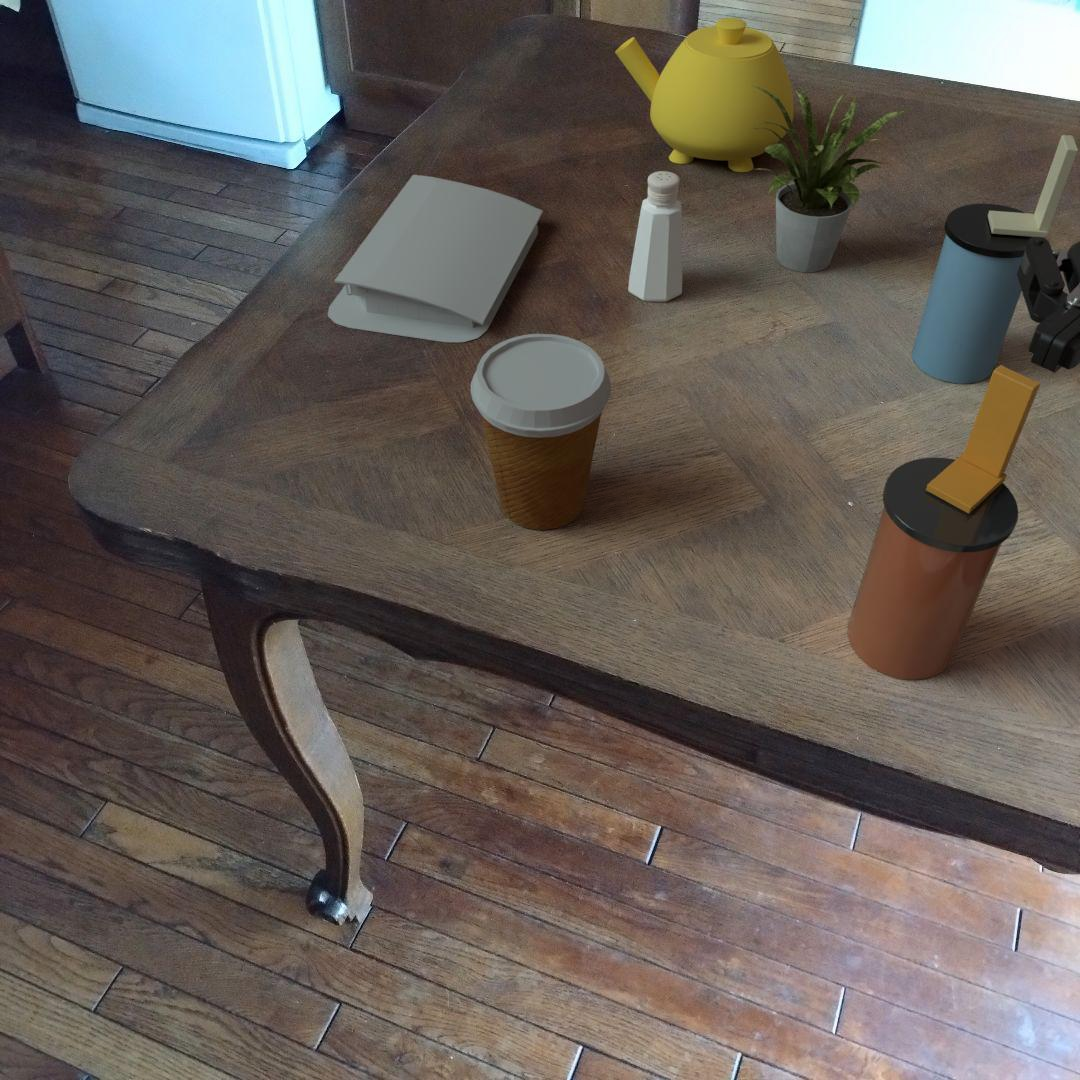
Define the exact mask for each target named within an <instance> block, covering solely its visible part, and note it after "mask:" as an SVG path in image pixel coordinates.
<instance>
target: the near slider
mask: <svg viewBox="0 0 1080 1080" xmlns="http://www.w3.org/2000/svg"><path fill="white" fill-rule="evenodd" d="M990 376H991V377H990V380H989V381H988V382H989V383H988V385H987V387H986V390H985V393H984V396H983V398H982V401H981V403H980V407H979V410H978V413H977V415H976V418H975V421H974V424H973V425H972V426H973V427H972V429H971V432H970V435H969V438H968V439H967V442H966V445H965V448H964V451H963V453H962V454H961V455H959V457H957V458H956V459H955V461H954V462H953V463H952V464H950V465H949V466H948V467H947V468H946V469H945V470H944V471H942V472H941V473H940V474H939V475H938V476H937V477H936V478H934V479H933V480H932V481H931V482H930V483H929V484H928V485H927V488H926V491H928V492H930V493H932V494H934V495H936V496H937V497H939V498H941V499H943V500H945V501H946V502H948V503H950V504H952V505H954V506H955V507H957V508H959V509H961V510H963V511H965V512H966V513H968V514H969V513H970V512H972V511H973V510H974V509H975V508H976V507H977V506H978V505H979V504H980V503H981V502H982V501H983V500H984V499H986V498H987V497H988V496H989V495H990V494H991V493H992V492H993V491H994V490H995V489H996V488H997V487H998V486H1000V485H1001V484H1002V483H1004V482H1005V481H1006V478H1007V473H1005V472H1006V470H1007V468H1008V465H1009V462H1010V460H1011V458H1012V455H1013V453H1014V450H1015V448H1016V445H1017V443H1018V441H1019V438H1020V436H1021V433H1022V431H1023V428H1024V425H1025V423H1026V421H1027V418H1028V416H1029V413H1030V411H1031V409H1032V406H1033V404H1034V401H1035V399H1036V396H1037V393H1038V392H1039V389H1040V386H1041V383H1040V382H1038V381H1036V380H1034V379H1032V378H1030V377H1027V376H1025V375H1023V374H1021V373H1019V372H1017V371H1014V370H1012V369H1010V368H1008V367H1006V366H1004V365H1002V364H1001V365H998V367H996V368H994V369H993V371H992V373H991V375H990Z"/></svg>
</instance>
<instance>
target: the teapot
mask: <svg viewBox="0 0 1080 1080" xmlns="http://www.w3.org/2000/svg"><path fill="white" fill-rule="evenodd" d="M614 54H615V55H616V56H617V58H619V60H620V61H621V63H622V64H623V66H624V67H625V68H626V70H627V71H628V73H629V74H630V76H631V77H632V78H633V79H634V81H635V82H636V84H637V85H638V86H639V88H640V89H641V90H642V92H643V93H644V94H645V96H646V97H647V99H648V100H649V101H650V112H649V117H650V120H651V124H652V126H653V127H654V129H655V130H656V131H655V132H657V134H658V135H659V136H660V137H661V139H662V140H663V141H664V142H665V143H666V145H668V146H669V147H670V148H672V149H673V150H672V152H671V153H670V155H669V156H668V159H669V161H670V162H671V163H674V164H679V165H683V164H685V165H686V164H689V163H692V162H693V161H694V159H695V158H697V159H702V160H711V161H727V165H728V166H727V167H728V168H729V169H730V170H731V171H733V172H736V173H749V172H751V171H752V169H754V163H753V160H752V158H755V157H758V156H760V155H762V154H764V153H766V152H765V148H766V147H768V146H770V145H772V144H776V143H779V142H781V141H780V140H779V138H778V137H777V136H776V135H775V134H774V133H773V132H772V131H774V132H776V133H777V134H778V135H779V136H780V137H781V138H782V139H783V138H784V137H785V136H786V135H787V133H786V132H785V130H784V129H783V128H781V127H780V126H778V125H781V126H783V127H785V128H787V129H788V130H789V131H790V129H789V127H788V125H787V123H786V121H785V118H784V116H783V114H782V112H781V109H780V108H779V106H778V105H777V104H776V102H775V101H774V100H773V99H772V98H771V97H770V96H769V95H768V94H766V93H765V92H763V91H762V90H760V89H758V88H756V87H759V88H762V89H764V90H766V91H768V92H770V93H772V94H773V95H774V96H776V97H777V98H778V99H779V100H780V101H781V103H782V104H783V106H784V107H785V109H786V111H787V113H788V115H789V118H790V120H791V122H792V123H793V120H794V113H795V112H794V111H795V110H794V106H795V105H794V95H793V87H792V83H791V78H790V76H789V73H788V70H787V67H786V65H785V62H784V61H783V58H782V56H781V54H780V52H779V50H778V48H777V46H776V44H775V43H774V41H773V39H772V38H771V37H770V36H769V35H768V34H766V33H765V32H762V31H760V30H757V29H754V28H751V27H747V21H745V20H743V19H740V18H738V17H724V18H720V19H718V20H716V21H715V25H712V26H705V27H701V28H698V29H696V30H694V31H692V32H691V33H689V34H688V35H687V36H686V37H685V38H684V39H683V41H682V42H681V43H680V44H679V45H678V47H677V48H676V50H675V51H674V52H673V54H672V55H671V56H670V58H669V60H668V61H667V62H666V64H665V66H664V67H663V70H662V71H661V73H659V72H658V70H657V69H656V67H655V66H654V65H653V63H652V62H651V60H650V58H649V57H648V56H647V54H646V53H645V51H644V49H643V48H642V46H641V45H640V44H639V42H638V41H637V39H636V38H635V37H634V36H633V37H630V38H629V39H628V40H626V41H625V42H623V43H622V44H621V45H620V46H618V48H617V49H616V50H615V52H614ZM751 85H752V86H751ZM753 86H756V87H753ZM758 122H772V123H775V124H778V125H775V124H767V123H762V124H754V123H758ZM754 128H767V129H770V130H772V131H770V130H767V129H754Z"/></svg>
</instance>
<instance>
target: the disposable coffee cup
mask: <svg viewBox="0 0 1080 1080" xmlns="http://www.w3.org/2000/svg"><path fill="white" fill-rule="evenodd" d="M611 394H612V383H611V378H610V375H609V373H608V371H607V370H606V368H605V366H604V362H603V359H602V358H601V357H600V356H599V354H598V352H596V351H595V350H594V349H593V348H591V347H590V346H589V345H588V344H586V343H584V342H582V341H580V340H578V339H575V338H572V337H569V336H565V335H560V334H553V333H552V334H550V333H529V334H523V335H518V336H513V337H511V338H508V339H506V340H503V341H501V342H499V343H496V344H495V345H493V346H492V347H491V348H490V349H488V350H487V351H486V352H485V353H484V354H483V355H482V357H481V358H480V360H479V362H478V364H477V366H476V371H475V372H474V373H473V375H472V379H471V382H470V396H471V399H472V402H473V403H474V406H475V407H476V409H477V410H478V412H479V413H480V417H481V420H482V421H481V422H482V425H483V432H484V435H485V439H486V445H487V450H488V453H489V458H490V462H491V467H492V471H493V476H494V480H495V485H496V489H497V493H498V499H499V504H500V508H501V511H502V512H503V514H504V515H505V517H506V518H507V519H508V520H510V521H511V522H512V523H514V524H516V525H518V526H520V527H522V528H527V529H530V530H539V531H541V530H553V529H558V528H561V527H563V526H566V525H568V524H570V523H571V522H573V521H574V520H575V519H577V517H579V515H580V514H581V512H582V511H583V509H584V506H585V501H586V500H585V499H586V494H587V489H588V483H589V478H590V473H591V469H592V463H593V458H594V453H595V449H596V443H597V439H598V433H599V428H600V423H601V417H602V414H603V413H602V412H603V411H604V409H605V407H606V405H607V404H608V402H609V401H610V396H611Z"/></svg>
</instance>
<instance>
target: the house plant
mask: <svg viewBox="0 0 1080 1080" xmlns="http://www.w3.org/2000/svg"><path fill="white" fill-rule="evenodd" d="M751 86H752V85H751ZM753 87H756V86H753ZM756 88H758V89H760V90H762V91H763V92H765V93H766V94H768V95H769V96H770V97H771V98H772V99H773V100H774V101H775V102H776V104H777V105H778V106H779V108H780V109H781V112H782V114H783V116H784V118H785V121H786V123H787V125H788V127H789V130H788V129H787V128H785V127H783V126H781V125H778V124H775V123H772V122H758V123H754V124H762V123H767V124H775V125H778V126H780V127H781V128H783V129H784V130H785V132H786V135H788V137H789V138H790V140H791V142H792V144H793V145H794V147H795V149H796V151H797V154H798V156H799V158H800V161H801V163H800V162H799V161H798V160H796V158H795V157H794V154H793V153H792V152H791V151H790V149H789V148H788V145H787V144H786V142H785V141H784V139H783V138H781V137H780V136H779V135H778V134H777V133H776V132H774V131H772V130H770V129H767V128H754V129H767V130H770V131H772V132H773V133H774V134H775V135H776V136H777V137H778V138H779V140H780V141H779V142H780V143H779V142H777V143H776V144H772V145H770V146H768V147H766V148H765V152H764V153H767V154H768V155H771V156H770V157H771V158H773V159H775V160H779V161H781V162H782V163H783V164H784V165H785V166H786V168H787V169H788V171H789V173H782V174H779V175H778V174H777V173H775V172H774V171H772V170H771V169H768V168H766V167H757V168H753V169H752V170H753V171H768V172H771V173H773V174H775V175H776V176H774V178H773V179H772V181H771V184H770V187H769V190H768V193H767V195H769V194H770V193H771V192H774V191H775V190H778V191H777V192H776V194H775V241H776V242H775V243H776V245H775V246H776V250H775V251H776V254H775V255H776V257H775V258H776V259H777V262H778V263H779V264H780V265H781V266H783V267H784V268H786V269H789V270H791V271H794V272H798V273H816V272H820V271H823V270H825V269H826V268H828V267H829V265H830V263H831V261H832V258H833V257H834V253H835V251H836V249H837V246H838V243H839V241H840V238H841V236H842V234H843V232H844V228H845V226H846V224H847V222H848V219H849V216H850V214H851V211H854V209H855V206H856V204H857V202H858V200H859V198H860V189H859V188H858V186H857V185H855V184H854V182H855V181H856V179H857V178H859V176H860V175H862V174H863V173H866V172H868V171H871V170H873V169H876V168H878V169H882V167H881V166H879V165H877V164H881V165H882V164H883V165H884V164H885V165H886V163H885V162H881V161H878V160H875V159H872V158H871V159H869V158H861V157H860V158H850V157H851V156H852V155H853V154H854V153H855V152H856V151H857V150H858V149H859V148H860V147H861V146H863V145H864V144H866V143H868V142H878V141H880V142H883V140H882V139H880V138H872V139H870V138H871V137H872V136H874V135H875V134H876V133H878V132H879V131H880V129H881V128H882V127H884V125H885V124H886V123H887V122H888V121H890V120H892V119H894V118H896V117H898V116H900V115H901V114H903V113H904V112H907V111H908V109H902V110H897V111H893V112H889V113H887V114H885V115H882V116H881V117H880V118H878V119H877V120H875V121H874V122H872V123H871V124H869V125H868V126H867V127H866V128H865V129H863V130H862V131H861V132H860V133H858V134H857V135H856V136H855V137H854V138H853V139H852V140H851V141H850V142H849V144H848V145H847V147H846V148H845V149H844V151H843V153H842V154H840V156H839V157H838V158H837V159H836V157H837V155H838V153H839V150H840V148H841V146H842V144H843V141H844V139H845V137H846V135H847V133H848V131H849V129H850V126H851V124H852V122H853V119H854V115H856V114H857V112H855V110H856V105H857V96H855V97H854V99H853V100H852V102H851V104H850V107H849V109H848V110H847V112H846V114H845V116H844V117H843V119H842V120H841V121H839V122H838V123H837V124H836V125H835V126H834V127H833V128H832V129H831V130H830V132H828V131H829V128H830V125H831V123H832V120H833V117H834V114H835V112H836V109H837V107H838V105H839V103H840V101H841V100H842V98H843V97H844V95H845V94H846V92H847V91H848V90H849V88H846V90H845V91H843V92H842V93H841V94H840V96H839V98H838V99H837V101H836V103H835V104H834V106H833V108H832V111H831V113H830V116H829V118H828V121H827V124H826V126H825V130H824V134H823V137H822V138H821V141H820V145H819V136H818V128H817V122H816V119H815V116H814V113H813V111H812V104H811V101H810V98H809V97H808V95H807V93H806V92H805V90H803V88H801V87H798V89H799V90H800V92H799V91H798V90H797V89H795V92H796V95H797V97H798V102H799V104H800V106H801V114H802V119H803V122H804V125H805V130H806V135H807V138H806V139H807V158H806V155H805V153H804V150H803V148H802V145H801V142H800V140H799V137H798V135H797V132H796V130H795V127H794V125H793V121H792V122H791V120H790V118H789V115H788V113H787V111H786V109H785V107H784V106H783V104H782V103H781V101H780V100H779V99H778V98H777V97H776V96H774V95H773V94H772V93H770V92H768V91H766V90H764V89H762V88H759V87H756ZM840 124H841V125H840ZM839 125H840V128H839V130H838V132H837V133H835V132H834V131H835V129H836V128H837V126H839ZM849 158H850V159H849ZM835 159H836V160H835ZM833 162H834V163H833ZM862 163H868V164H864V165H861V166H860V167H858V168H856V167H855V166H854V165H857V164H862ZM874 163H875V164H874ZM876 163H877V164H876ZM752 170H751V171H752ZM791 181H793V182H791ZM790 182H791V183H790Z"/></svg>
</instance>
